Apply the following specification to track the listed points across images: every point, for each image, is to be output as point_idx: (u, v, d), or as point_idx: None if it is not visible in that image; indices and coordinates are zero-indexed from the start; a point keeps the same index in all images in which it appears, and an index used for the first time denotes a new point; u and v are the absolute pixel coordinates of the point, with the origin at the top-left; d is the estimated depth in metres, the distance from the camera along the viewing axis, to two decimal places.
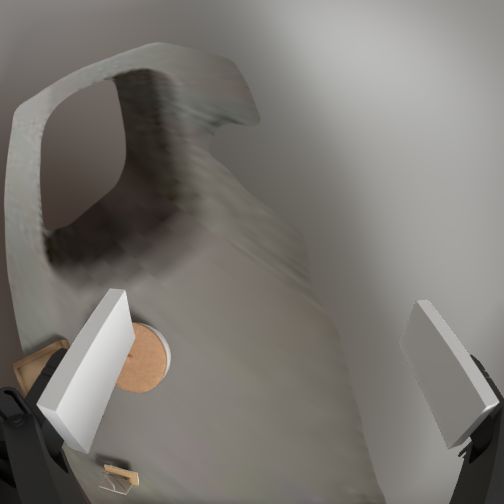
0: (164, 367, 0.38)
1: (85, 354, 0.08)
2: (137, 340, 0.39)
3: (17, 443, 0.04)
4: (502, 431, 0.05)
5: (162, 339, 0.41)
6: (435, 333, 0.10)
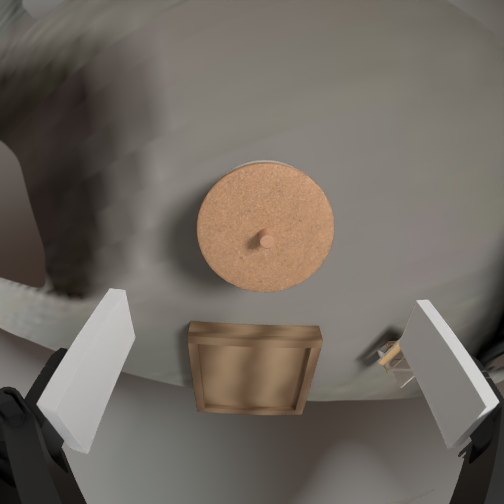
0: (312, 182, 0.21)
1: (85, 354, 0.08)
2: (240, 204, 0.22)
3: (17, 443, 0.04)
4: (502, 431, 0.05)
5: (260, 161, 0.22)
6: (435, 333, 0.10)
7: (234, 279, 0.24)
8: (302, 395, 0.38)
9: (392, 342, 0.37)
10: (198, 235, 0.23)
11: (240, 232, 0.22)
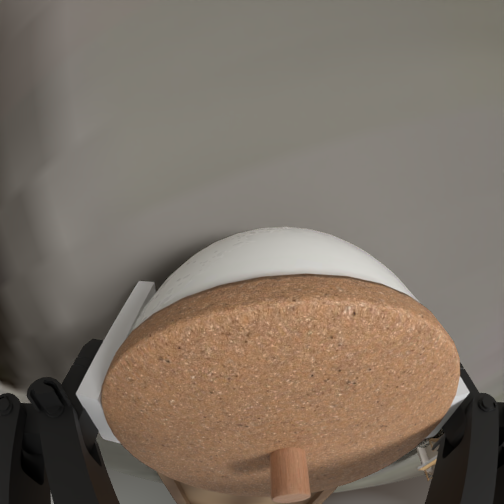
0: (445, 341, 0.05)
1: (122, 343, 0.09)
2: (211, 413, 0.06)
3: (53, 435, 0.05)
4: (474, 425, 0.06)
5: (277, 253, 0.07)
6: None
7: (212, 489, 0.09)
8: (315, 503, 0.23)
9: None
10: (117, 437, 0.07)
11: (218, 453, 0.07)
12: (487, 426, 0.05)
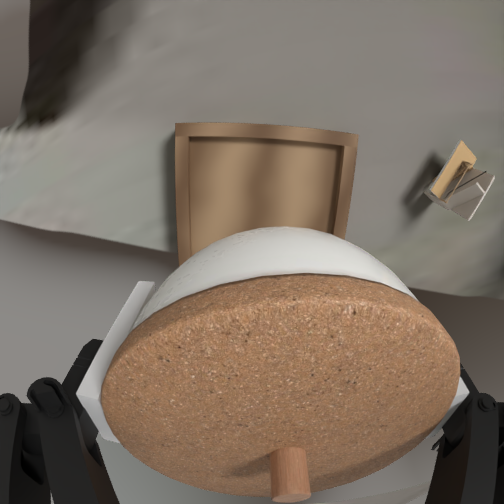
0: (445, 341, 0.05)
1: None
2: (211, 413, 0.06)
3: (53, 435, 0.05)
4: (474, 425, 0.06)
5: (277, 252, 0.07)
6: None
7: (212, 489, 0.09)
8: None
9: None
10: (117, 437, 0.07)
11: (218, 453, 0.07)
12: (487, 426, 0.05)
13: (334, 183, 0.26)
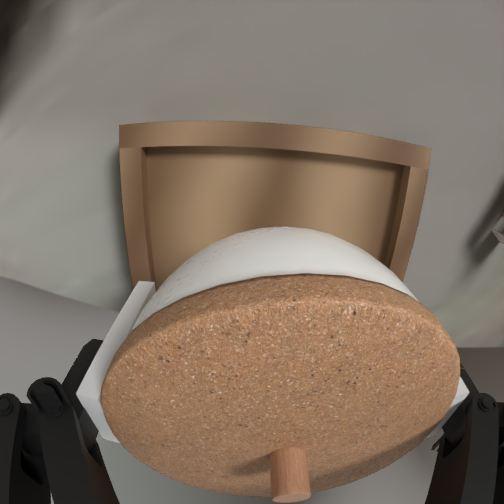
0: (445, 341, 0.05)
1: None
2: (211, 413, 0.06)
3: (53, 435, 0.05)
4: (474, 425, 0.06)
5: (277, 252, 0.07)
6: None
7: (212, 489, 0.09)
8: None
9: None
10: (116, 437, 0.07)
11: (218, 453, 0.07)
12: (487, 426, 0.05)
13: (387, 226, 0.16)
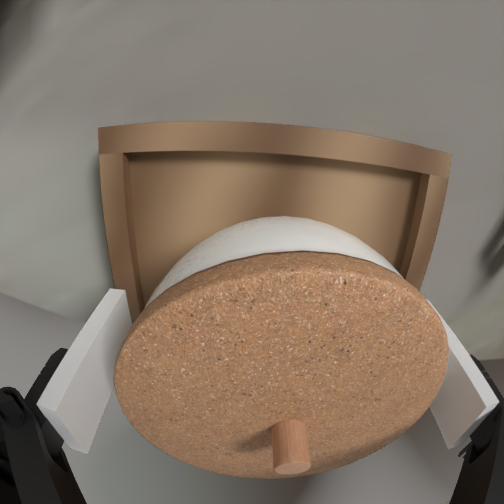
0: (431, 315, 0.06)
1: (85, 354, 0.08)
2: (218, 381, 0.07)
3: (17, 443, 0.04)
4: (502, 431, 0.05)
5: (277, 235, 0.08)
6: None
7: (215, 470, 0.09)
8: None
9: None
10: (126, 415, 0.08)
11: (223, 426, 0.08)
12: None
13: (402, 241, 0.14)
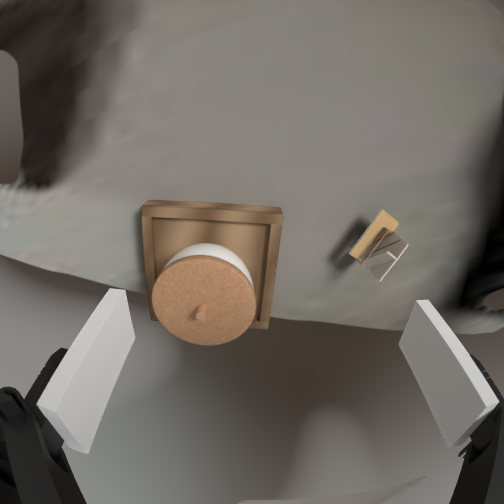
0: (235, 272, 0.28)
1: (85, 354, 0.08)
2: (181, 287, 0.28)
3: (17, 443, 0.04)
4: (502, 431, 0.05)
5: (198, 250, 0.29)
6: (435, 333, 0.10)
7: (181, 336, 0.31)
8: (266, 297, 0.37)
9: None
10: (153, 305, 0.29)
11: (183, 306, 0.29)
12: None
13: (264, 251, 0.35)
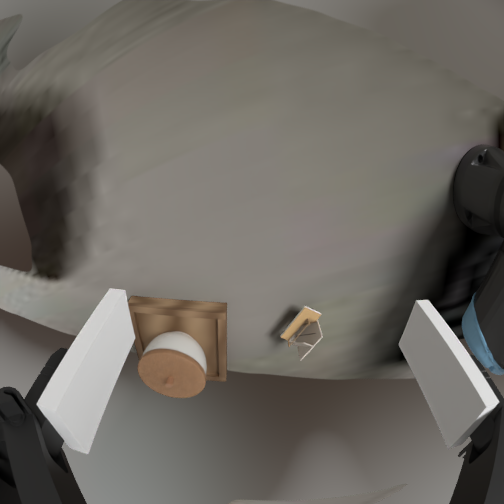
0: (188, 361, 0.39)
1: (85, 354, 0.08)
2: (155, 367, 0.40)
3: (17, 443, 0.04)
4: (502, 431, 0.05)
5: (164, 343, 0.41)
6: (435, 333, 0.10)
7: (160, 392, 0.42)
8: (221, 362, 0.48)
9: None
10: (139, 375, 0.41)
11: (158, 376, 0.40)
12: None
13: (216, 333, 0.47)
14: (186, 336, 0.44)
